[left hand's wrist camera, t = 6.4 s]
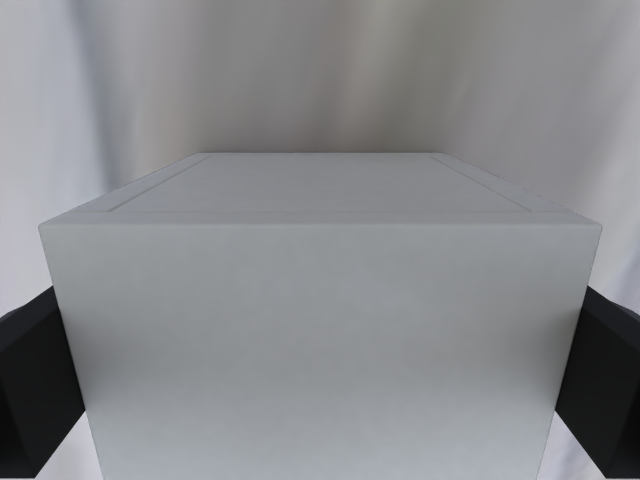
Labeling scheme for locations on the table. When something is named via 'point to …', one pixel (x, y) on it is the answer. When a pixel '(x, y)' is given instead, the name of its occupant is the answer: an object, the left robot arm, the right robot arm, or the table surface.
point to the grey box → (320, 318)
